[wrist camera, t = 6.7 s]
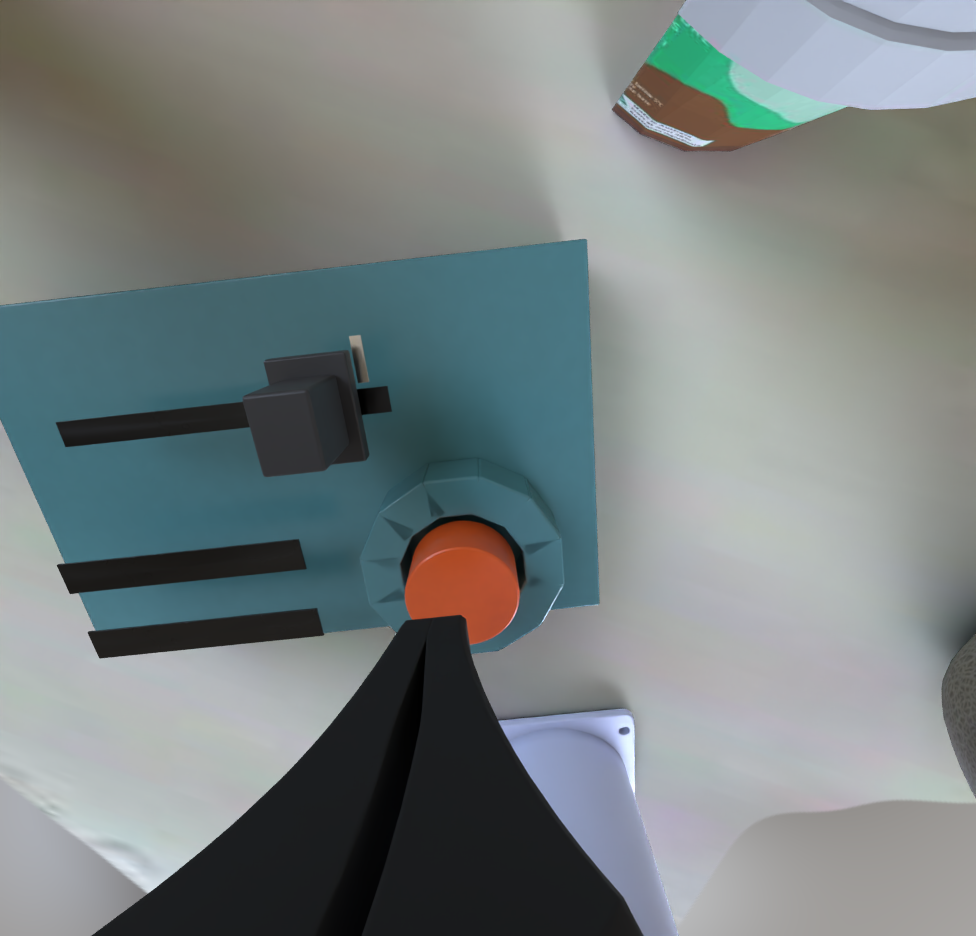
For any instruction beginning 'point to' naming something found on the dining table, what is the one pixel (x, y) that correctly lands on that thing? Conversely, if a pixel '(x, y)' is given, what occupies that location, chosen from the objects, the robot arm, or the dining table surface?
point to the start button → (464, 578)
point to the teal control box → (342, 487)
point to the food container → (796, 66)
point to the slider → (307, 415)
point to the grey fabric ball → (962, 708)
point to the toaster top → (202, 560)
